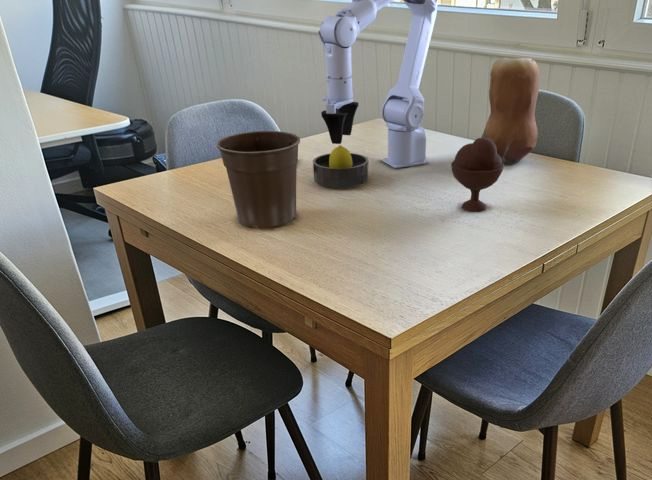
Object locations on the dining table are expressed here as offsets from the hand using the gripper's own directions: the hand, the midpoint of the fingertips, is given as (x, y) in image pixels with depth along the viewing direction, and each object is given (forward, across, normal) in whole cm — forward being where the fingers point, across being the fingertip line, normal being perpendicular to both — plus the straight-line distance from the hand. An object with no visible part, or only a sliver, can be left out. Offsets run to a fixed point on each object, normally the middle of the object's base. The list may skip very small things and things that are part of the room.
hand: (341, 139), depth 146 cm
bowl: (+10, +1, 0) cm, 10 cm away
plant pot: (+10, +28, -8) cm, 31 cm away
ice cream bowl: (+10, +12, +33) cm, 37 cm away
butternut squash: (+10, -24, +38) cm, 46 cm away
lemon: (+9, +1, 0) cm, 9 cm away
